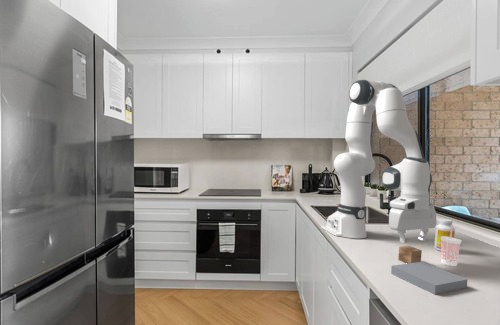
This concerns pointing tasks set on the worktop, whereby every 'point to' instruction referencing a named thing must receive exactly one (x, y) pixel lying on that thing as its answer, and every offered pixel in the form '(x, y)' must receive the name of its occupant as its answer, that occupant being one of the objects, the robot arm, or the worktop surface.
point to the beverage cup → (450, 249)
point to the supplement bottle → (442, 232)
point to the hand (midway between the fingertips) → (412, 241)
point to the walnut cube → (409, 254)
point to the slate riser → (429, 277)
